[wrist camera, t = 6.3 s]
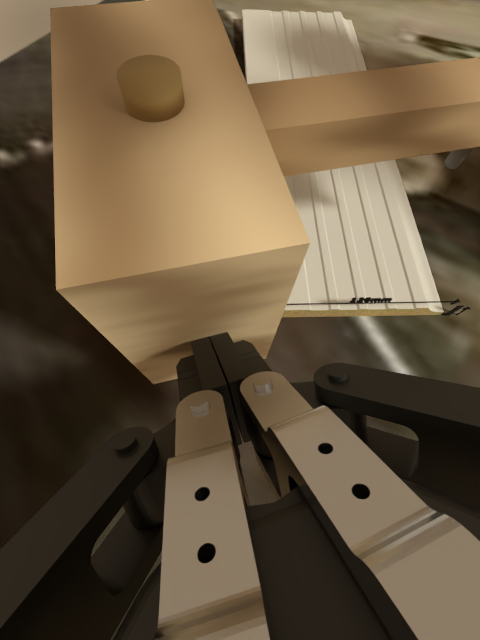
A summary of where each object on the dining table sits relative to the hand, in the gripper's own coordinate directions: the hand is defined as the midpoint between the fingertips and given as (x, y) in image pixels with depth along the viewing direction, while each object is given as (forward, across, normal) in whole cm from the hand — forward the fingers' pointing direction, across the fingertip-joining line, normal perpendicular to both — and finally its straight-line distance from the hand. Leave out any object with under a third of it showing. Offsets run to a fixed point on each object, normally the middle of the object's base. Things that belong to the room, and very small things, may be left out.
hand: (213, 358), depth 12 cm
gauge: (+7, -6, -1) cm, 10 cm away
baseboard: (+15, -14, -8) cm, 21 cm away
